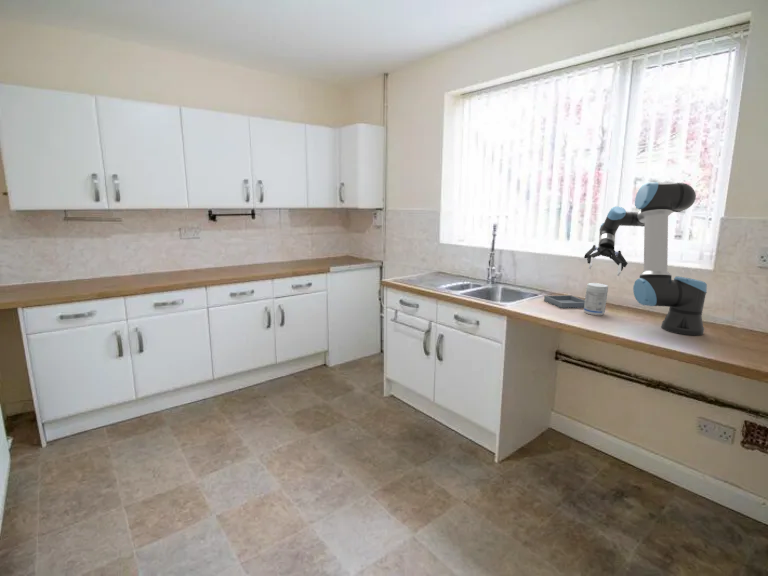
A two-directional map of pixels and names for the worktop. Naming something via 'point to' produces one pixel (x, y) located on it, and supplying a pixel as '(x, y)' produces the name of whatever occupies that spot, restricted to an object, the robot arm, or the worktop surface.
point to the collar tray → (565, 301)
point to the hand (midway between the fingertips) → (604, 270)
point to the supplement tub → (595, 298)
